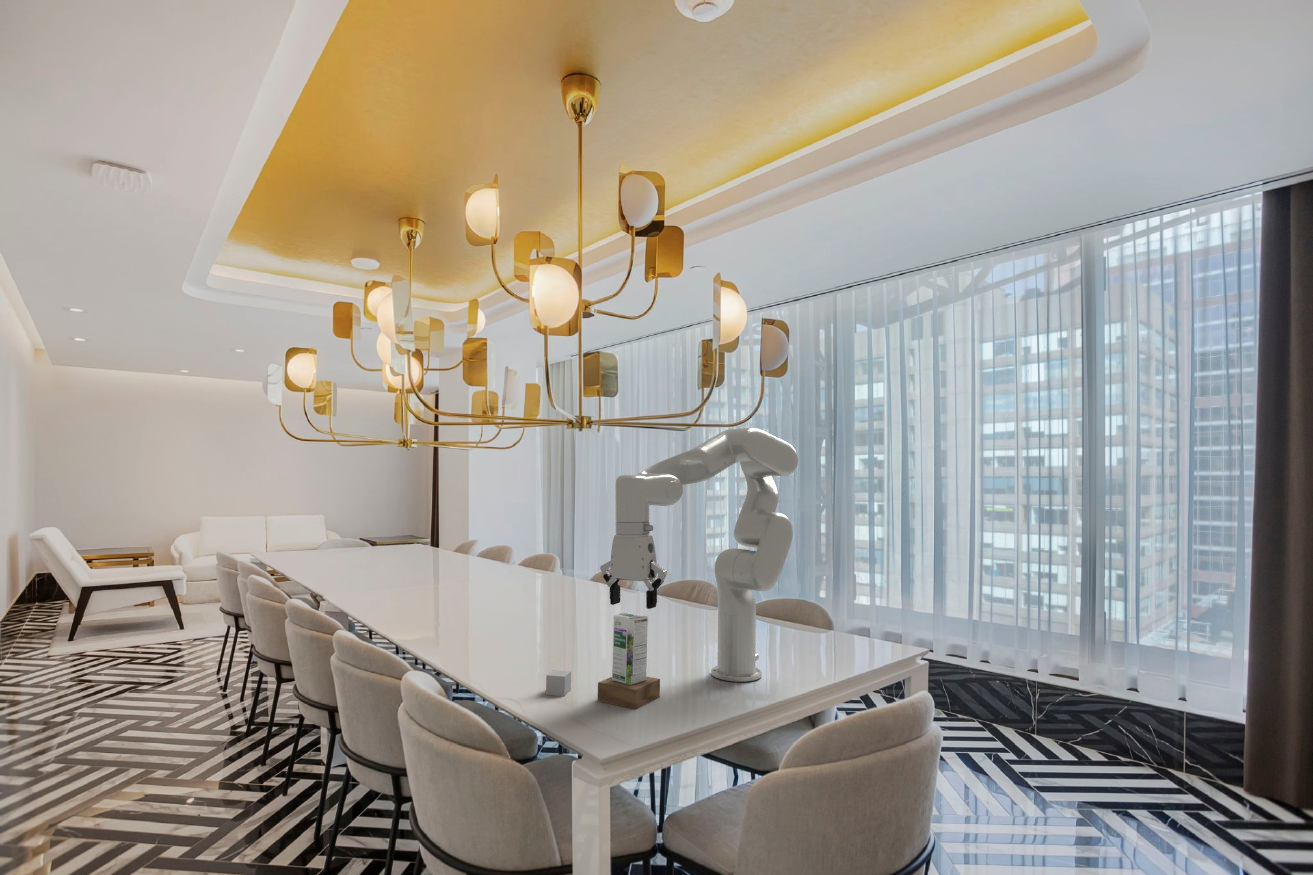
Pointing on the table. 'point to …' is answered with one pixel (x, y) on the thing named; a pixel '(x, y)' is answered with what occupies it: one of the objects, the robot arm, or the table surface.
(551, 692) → the grey stone cube
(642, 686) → the walnut base
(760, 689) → the table surface
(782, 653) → the table surface
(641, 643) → the syrup box
